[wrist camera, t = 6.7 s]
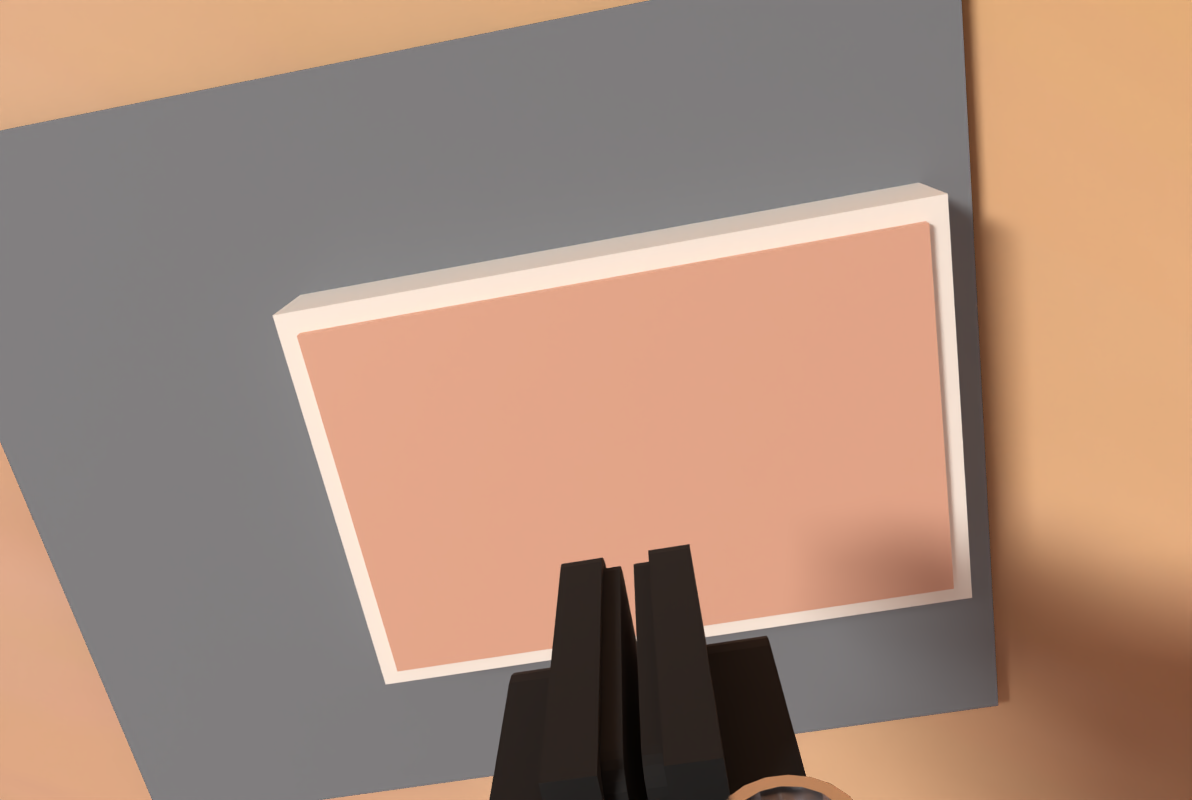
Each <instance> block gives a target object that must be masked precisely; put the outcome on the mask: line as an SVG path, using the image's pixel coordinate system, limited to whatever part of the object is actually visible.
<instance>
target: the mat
mask: <svg viewBox="0 0 1192 800" xmlns="http://www.w3.org/2000/svg"><path fill="white" fill-rule="evenodd" d="M914 183H922V184H924V185H927V186H929V187H932V188H934V189H937V190H940V191H942V192H945V193H947V194H948V206H949V223H950V240H951V256H952V273H953V289H954V306H955V322H956V339H957V355H958V372H959V389H960V405H961V422H962V438H963V455H964V471H965V488H966V504H967V521H968V537H969V554H970V571H971V587H972V598H967V599H960V600H953V601H947V602H940V603H933V604H926V605H920V606H913V607H906V608H899V609H893V610H886V611H879V612H872V613H866V614H859V615H852V616H845V617H839V618H832V619H825V620H818V621H812V622H805V623H798V624H791V625H785V626H778V627H771V628H764V629H758V630H751V631H744V632H737V633H731V634H724V635H717V636H710V637H705V638H706V644H713V643H720V642H727V641H734V640H740V639H747V638H754V637H761V636H767V637H768V639H769V642H770V645H771V649H772V653H773V656H774V660H775V664H776V667H777V671H778V675H779V678H780V682H781V686H782V690H783V693H784V697H785V701H786V704H787V708H788V712H789V715H790V719H791V723H792V726H793V730H794V734H797V733H805V732H812V731H819V730H826V729H833V728H840V727H848V726H855V725H862V724H869V723H876V722H884V721H891V720H898V719H905V718H912V717H920V716H927V715H934V714H941V713H948V712H955V711H963V710H970V709H977V708H984V707H991V706H998V691H997V672H996V653H995V634H994V614H993V595H992V576H991V557H990V538H989V519H988V500H987V480H986V461H985V442H984V423H983V404H982V385H981V365H980V346H979V327H978V308H977V289H976V270H975V250H974V231H973V212H972V193H971V174H970V155H969V135H968V116H967V97H966V78H965V59H964V40H963V20H962V1H961V0H649V1H644V2H639V3H634V4H629V5H624V6H619V7H614V8H609V9H604V10H599V11H594V12H589V13H584V14H579V15H574V16H569V17H564V18H559V19H554V20H549V21H544V22H539V23H534V24H529V25H524V26H519V27H514V28H509V29H504V30H499V31H494V32H490V33H485V34H480V35H475V36H470V37H465V38H460V39H455V40H450V41H445V42H440V43H435V44H430V45H425V46H420V47H415V48H410V49H405V50H400V51H395V52H390V53H385V54H380V55H375V56H370V57H365V58H360V59H355V60H350V61H345V62H340V63H335V64H330V65H325V66H320V67H315V68H310V69H305V70H300V71H295V72H290V73H285V74H280V75H275V76H270V77H265V78H260V79H255V80H250V81H245V82H240V83H235V84H230V85H225V86H220V87H215V88H210V89H205V90H200V91H195V92H190V93H185V94H180V95H175V96H170V97H165V98H160V99H155V100H150V101H145V102H140V103H135V104H131V105H126V106H121V107H116V108H111V109H106V110H101V111H96V112H91V113H86V114H81V115H76V116H71V117H66V118H61V119H56V120H51V121H46V122H41V123H36V124H31V125H26V126H21V127H16V128H11V129H6V130H1V131H0V442H1V445H2V447H3V449H4V452H5V454H6V456H7V459H8V461H9V463H10V466H11V468H12V470H13V473H14V475H15V478H16V480H17V482H18V485H19V487H20V489H21V492H22V494H23V496H24V499H25V501H26V503H27V506H28V508H29V511H30V513H31V515H32V518H33V520H34V522H35V525H36V527H37V529H38V532H39V534H40V536H41V539H42V541H43V544H44V546H45V548H46V551H47V553H48V555H49V558H50V560H51V562H52V565H53V567H54V569H55V572H56V574H57V577H58V579H59V581H60V584H61V586H62V588H63V591H64V593H65V595H66V598H67V600H68V602H69V605H70V607H71V610H72V612H73V614H74V617H75V619H76V621H77V624H78V626H79V628H80V631H81V633H82V635H83V638H84V640H85V642H86V645H87V647H88V650H89V652H90V654H91V657H92V659H93V661H94V664H95V666H96V668H97V671H98V673H99V675H100V678H101V680H102V683H103V685H104V687H105V690H106V692H107V694H108V697H109V699H110V701H111V704H112V706H113V708H114V711H115V713H116V716H117V718H118V720H119V723H120V725H121V727H122V730H123V732H124V734H125V737H126V739H127V741H128V744H129V746H130V749H131V751H132V753H133V756H134V758H135V760H136V763H137V765H138V767H139V770H140V772H141V774H142V777H143V779H144V782H145V784H146V786H147V789H148V791H149V793H150V796H151V798H152V800H323V799H330V798H338V797H345V796H352V795H359V794H366V793H373V792H381V791H388V790H395V789H402V788H409V787H417V786H424V785H431V784H438V783H445V782H452V781H460V780H467V779H474V778H481V777H488V776H494V770H495V764H496V758H497V752H498V746H499V740H500V734H501V728H502V722H503V716H504V710H505V704H506V698H507V692H508V686H509V682H510V678H511V675H512V674H513V673H516V672H523V671H530V670H537V669H543V668H550V666H551V660H548V661H541V662H535V663H528V664H521V665H514V666H508V667H501V668H494V669H487V670H481V671H474V672H467V673H460V674H454V675H447V676H440V677H433V678H427V679H420V680H413V681H406V682H400V683H393V684H385V681H384V677H383V674H382V671H381V668H380V664H379V661H378V658H377V655H376V651H375V648H374V645H373V642H372V638H371V635H370V632H369V629H368V625H367V622H366V619H365V615H364V612H363V609H362V606H361V602H360V599H359V596H358V593H357V589H356V586H355V583H354V580H353V576H352V573H351V570H350V567H349V563H348V560H347V557H346V554H345V550H344V547H343V544H342V541H341V537H340V534H339V531H338V527H337V524H336V521H335V518H334V514H333V511H332V508H331V505H330V501H329V498H328V495H327V492H326V488H325V485H324V482H323V479H322V475H321V472H320V469H319V466H318V462H317V459H316V456H315V453H314V449H313V446H312V443H311V439H310V436H309V433H308V430H307V426H306V423H305V420H304V417H303V413H302V410H301V407H300V404H299V400H298V397H297V394H296V391H295V387H294V384H293V381H292V378H291V374H290V371H289V368H288V365H287V361H286V358H285V355H284V351H283V348H282V345H281V342H280V338H279V335H278V332H277V329H276V325H275V322H274V319H273V316H272V315H274V314H275V313H276V312H278V311H279V310H281V309H282V308H283V307H285V306H286V305H287V304H289V303H290V302H291V301H293V300H294V299H295V298H297V297H298V296H299V295H303V294H308V293H314V292H319V291H325V290H330V289H336V288H341V287H347V286H352V285H358V284H363V283H369V282H374V281H380V280H385V279H391V278H396V277H402V276H407V275H413V274H418V273H424V272H429V271H435V270H440V269H446V268H451V267H457V266H462V265H468V264H473V263H479V262H484V261H490V260H495V259H501V258H506V257H512V256H517V255H523V254H528V253H534V252H539V251H545V250H550V249H556V248H561V247H567V246H572V245H578V244H583V243H589V242H594V241H600V240H605V239H611V238H616V237H622V236H627V235H633V234H638V233H644V232H649V231H655V230H660V229H666V228H671V227H677V226H682V225H688V224H693V223H699V222H704V221H710V220H715V219H721V218H726V217H732V216H737V215H743V214H748V213H754V212H759V211H765V210H770V209H776V208H781V207H787V206H792V205H798V204H803V203H809V202H814V201H820V200H825V199H831V198H836V197H842V196H847V195H853V194H859V193H864V192H870V191H875V190H881V189H886V188H892V187H897V186H903V185H908V184H914Z"/></svg>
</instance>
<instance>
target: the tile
mask: <svg viewBox="0 0 1192 800" xmlns="http://www.w3.org/2000/svg"><path fill="white" fill-rule="evenodd" d="M272 316H273V319H274V322H275V325H276V329H277V332H278V335H279V338H280V342H281V345H282V348H283V351H284V355H285V358H286V361H287V365H288V368H289V371H290V374H291V378H292V381H293V384H294V387H295V391H296V394H297V397H298V400H299V404H300V407H301V410H302V413H303V417H304V420H305V423H306V426H307V430H308V433H309V436H310V439H311V443H312V446H313V449H314V453H315V456H316V459H317V462H318V466H319V469H320V472H321V475H322V479H323V482H324V485H325V488H326V492H327V495H328V498H329V501H330V505H331V508H332V511H333V514H334V518H335V521H336V524H337V527H338V531H339V534H340V537H341V541H342V544H343V547H344V550H345V554H346V557H347V560H348V563H349V567H350V570H351V573H352V576H353V580H354V583H355V586H356V589H357V593H358V596H359V599H360V602H361V606H362V609H363V612H364V615H365V619H366V622H367V625H368V629H369V632H370V635H371V638H372V642H373V645H374V648H375V651H376V655H377V658H378V661H379V664H380V668H381V671H382V674H383V677H384V681H385V684H393V683H400V682H406V681H413V680H420V679H427V678H433V677H440V676H447V675H454V674H460V673H467V672H474V671H481V670H487V669H494V668H501V667H508V666H514V665H521V664H528V663H535V662H541V661H548V660H551V656H552V646H553V637H554V627H555V617H556V607H557V598H558V588H559V578H560V568H561V564H564V563H570V562H577V561H583V560H590V559H596V558H604V561H605V564H606V568H611V567H617V566H621V568H622V571H623V576H624V580H625V585H626V591H627V596H628V601H629V606H630V611H631V616H632V621H633V626H634V631H635V636H636V614H635V590H634V564H636V563H643V562H649V557H648V550H654V549H660V548H667V547H673V546H680V545H686V544H690V550H691V556H692V562H693V567H694V573H695V579H696V585H697V591H698V597H699V603H700V609H701V614H702V620H703V626H704V632H705V637H710V636H717V635H724V634H731V633H737V632H744V631H751V630H758V629H764V628H771V627H778V626H785V625H791V624H798V623H805V622H812V621H818V620H825V619H832V618H839V617H845V616H852V615H859V614H866V613H872V612H879V611H886V610H893V609H899V608H906V607H913V606H920V605H926V604H933V603H940V602H947V601H953V600H960V599H967V598H972V587H971V571H970V554H969V537H968V521H967V504H966V488H965V471H964V455H963V438H962V422H961V405H960V389H959V372H958V355H957V339H956V322H955V306H954V289H953V273H952V256H951V240H950V223H949V206H948V194H947V193H945V192H942V191H940V190H937V189H934V188H932V187H929V186H927V185H924V184H922V183H914V184H908V185H903V186H897V187H892V188H886V189H881V190H875V191H870V192H864V193H859V194H853V195H847V196H842V197H836V198H831V199H825V200H820V201H814V202H809V203H803V204H798V205H792V206H787V207H781V208H776V209H770V210H765V211H759V212H754V213H748V214H743V215H737V216H732V217H726V218H721V219H715V220H710V221H704V222H699V223H693V224H688V225H682V226H677V227H671V228H666V229H660V230H655V231H649V232H644V233H638V234H633V235H627V236H622V237H616V238H611V239H605V240H600V241H594V242H589V243H583V244H578V245H572V246H567V247H561V248H556V249H550V250H545V251H539V252H534V253H528V254H523V255H517V256H512V257H506V258H501V259H495V260H490V261H484V262H479V263H473V264H468V265H462V266H457V267H451V268H446V269H440V270H435V271H429V272H424V273H418V274H413V275H407V276H402V277H396V278H391V279H385V280H380V281H374V282H369V283H363V284H358V285H352V286H347V287H341V288H336V289H330V290H325V291H319V292H314V293H308V294H303V295H299V296H298V297H297V298H295V299H294V300H293V301H291V302H290V303H289V304H287V305H286V306H285V307H283V308H282V309H281V310H279V311H278V312H276V313H275V314H274V315H272ZM636 641H637V638H636Z"/></svg>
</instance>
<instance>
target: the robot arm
mask: <svg viewBox="0 0 1192 800" xmlns="http://www.w3.org/2000/svg"><path fill="white" fill-rule="evenodd" d="M648 557H649V562H643V563H636V564H634V590H635V614H636V636H635V631H634V626H633V621H632V616H631V611H630V606H629V601H628V596H627V591H626V585H625V580H624V576H623V571H622V568H621V566H617V567H611V568H606V564H605V561H604V558H596V559H590V560H583V561H577V562H570V563H564V564H561V568H560V578H559V588H558V598H557V607H556V617H555V627H554V637H553V646H552V656H551V666H550V668H543V669H537V670H530V671H523V672H516V673H513V674H512V675H511V678H510V682H509V686H508V692H507V698H506V704H505V710H504V716H503V722H502V728H501V734H500V740H499V746H498V752H497V758H496V764H495V770H494V776H493V782H492V788H491V794H490V800H853V799H852V798H851V797H850V796H849V795H847V794H846V793H844V792H843V791H841V790H840V789H838V788H837V787H835V786H834V785H832V784H830V783H827V782H824V781H821V780H818V779H815V778H812V777H806V774H805V771H804V767H803V763H802V759H801V756H800V752H799V748H798V745H797V741H796V737H795V734H794V730H793V726H792V723H791V719H790V715H789V712H788V708H787V704H786V701H785V697H784V693H783V690H782V686H781V682H780V678H779V675H778V671H777V667H776V664H775V660H774V656H773V653H772V649H771V645H770V642H769V639H768V637H767V636H761V637H754V638H747V639H740V640H734V641H727V642H720V643H713V644H706V638H705V632H704V626H703V620H702V614H701V609H700V603H699V597H698V591H697V585H696V579H695V573H694V567H693V562H692V556H691V550H690V544H686V545H680V546H673V547H667V548H660V549H654V550H648ZM636 638H637V641H636Z"/></svg>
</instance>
